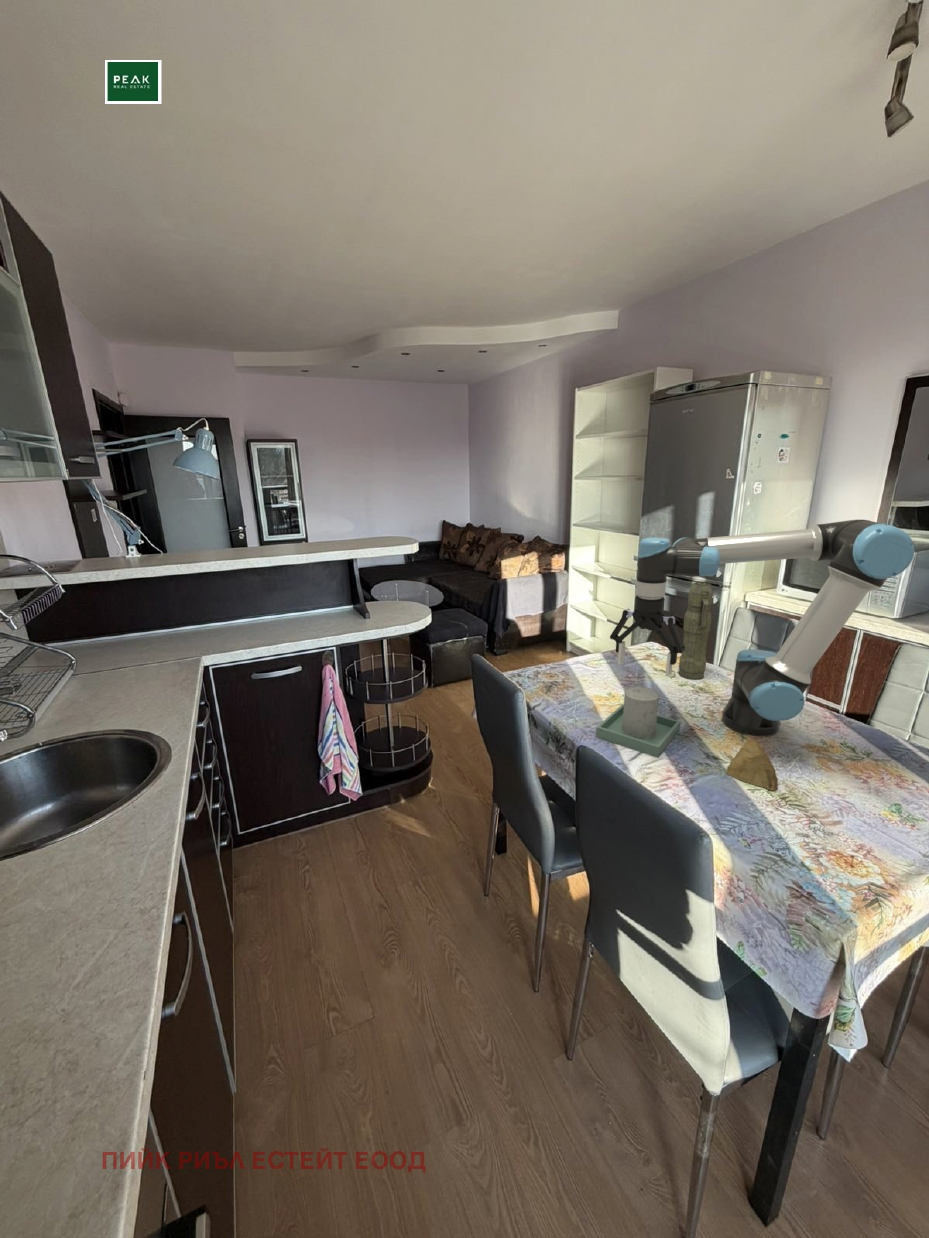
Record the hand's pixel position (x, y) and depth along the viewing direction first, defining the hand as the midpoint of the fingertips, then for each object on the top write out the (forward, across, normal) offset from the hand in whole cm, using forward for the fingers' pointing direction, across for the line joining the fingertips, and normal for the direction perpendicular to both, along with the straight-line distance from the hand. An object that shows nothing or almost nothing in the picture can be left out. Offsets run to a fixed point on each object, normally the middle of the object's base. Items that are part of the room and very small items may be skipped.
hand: (643, 669), depth 143 cm
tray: (+21, 0, 0) cm, 21 cm away
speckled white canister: (+20, 0, 0) cm, 20 cm away
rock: (+21, -31, +5) cm, 38 cm away
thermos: (+21, +1, -53) cm, 57 cm away
